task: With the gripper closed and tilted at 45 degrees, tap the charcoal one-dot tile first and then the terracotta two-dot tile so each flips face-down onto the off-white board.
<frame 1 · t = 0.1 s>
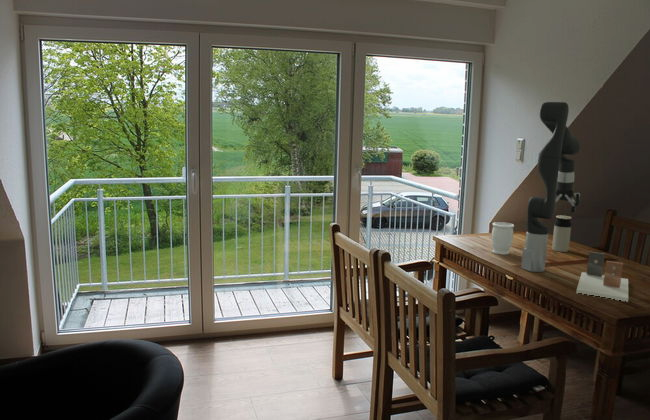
hand: (563, 211, 269), 22 cm above the table, tool pointing down, fingers open, 8 cm apart
jar: (500, 253, 274), on the table
tile two dots: (613, 274, 218), point 7 cm above the table, hinge at 0.0°
travel mug: (559, 250, 283), on the table
board: (601, 280, 232), on the table
tile one dot: (595, 264, 232), point 7 cm above the table, hinge at 0.0°
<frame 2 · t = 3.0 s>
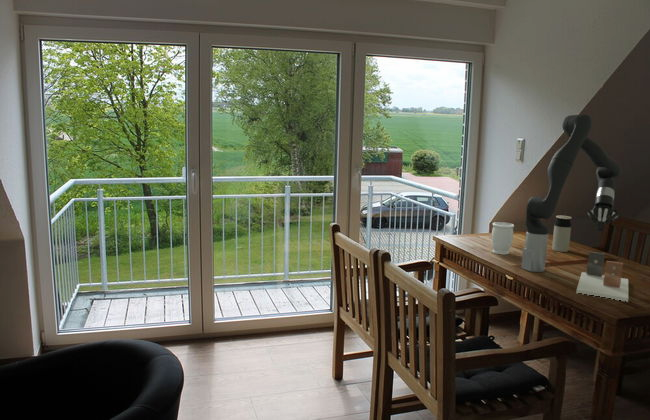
hand: (600, 229, 241), 20 cm above the table, tool tilted 45°, fingers closed
nothing on the table moved.
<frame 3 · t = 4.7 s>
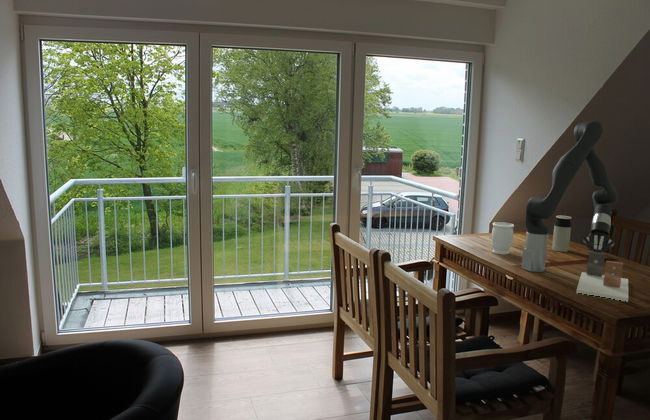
hand: (596, 258, 233), 9 cm above the table, tool tilted 45°, fingers closed
tile one dot: (595, 264, 232), point 7 cm above the table, hinge at 0.0°, touching gripper
everything else where it was.
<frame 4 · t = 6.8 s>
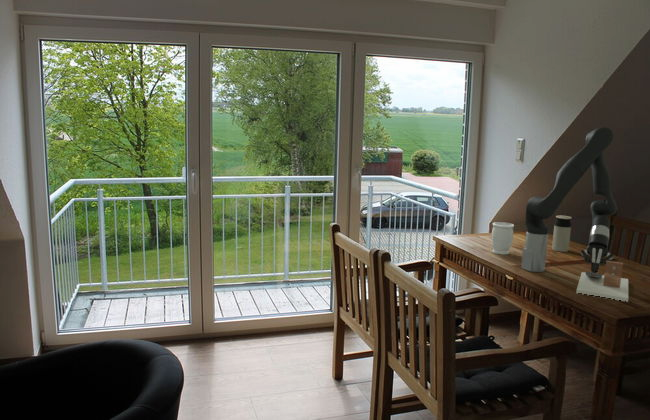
hand: (594, 272, 225), 5 cm above the table, tool tilted 45°, fingers closed
tile one dot: (593, 274, 228), point 3 cm above the table, hinge at 74.2°, touching gripper
everything else where it was.
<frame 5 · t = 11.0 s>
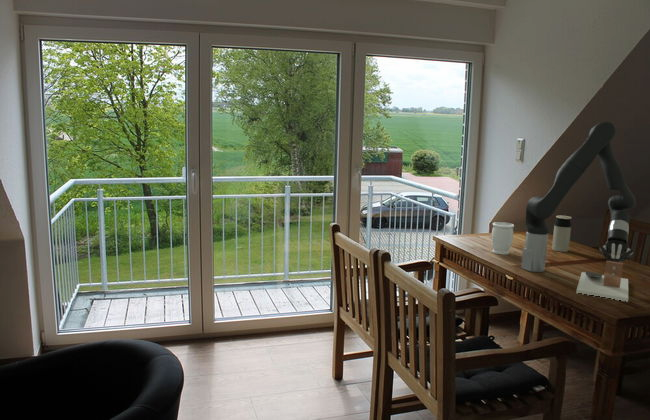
hand: (614, 268, 218), 9 cm above the table, tool tilted 45°, fingers closed
tile two dots: (613, 274, 218), point 7 cm above the table, hinge at 0.7°, touching gripper
tile one dot: (593, 274, 228), point 3 cm above the table, hinge at 74.2°
everything else where it was.
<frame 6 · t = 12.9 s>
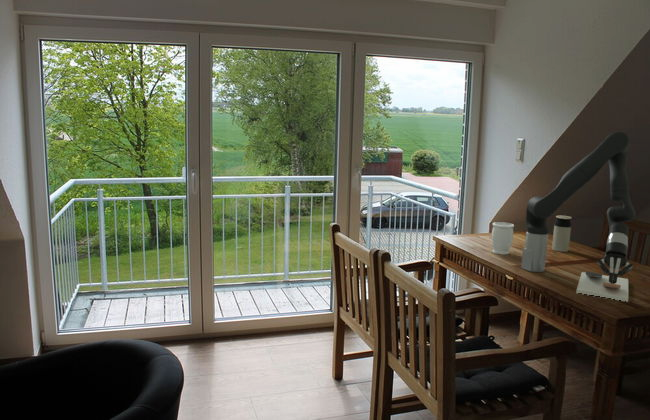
hand: (612, 283, 211), 5 cm above the table, tool tilted 45°, fingers closed
tile two dots: (611, 285, 214), point 3 cm above the table, hinge at 73.9°, touching gripper
everything else where it was.
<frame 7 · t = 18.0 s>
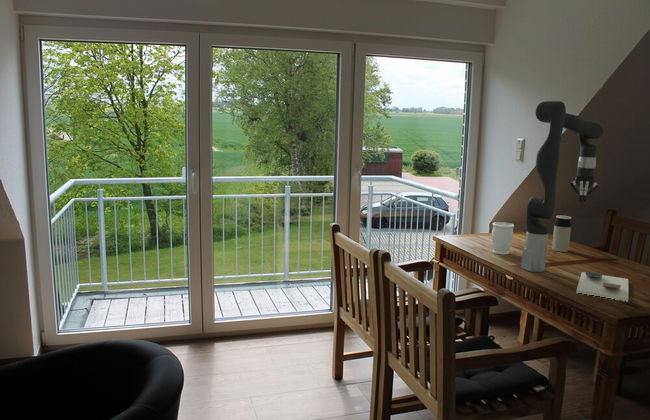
hand: (582, 202, 256), 29 cm above the table, tool pointing down, fingers closed
tile two dots: (611, 285, 214), point 3 cm above the table, hinge at 73.9°
everything else where it was.
at the end: tile one dot at +74° (first picture: +0°); tile two dots at +74° (first picture: +0°) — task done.
